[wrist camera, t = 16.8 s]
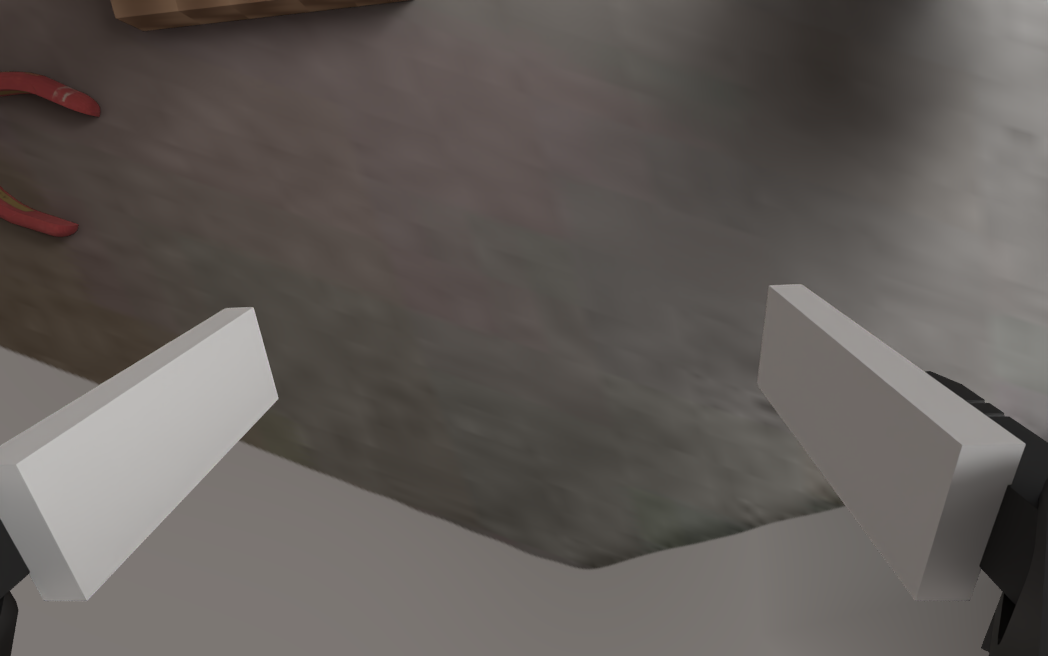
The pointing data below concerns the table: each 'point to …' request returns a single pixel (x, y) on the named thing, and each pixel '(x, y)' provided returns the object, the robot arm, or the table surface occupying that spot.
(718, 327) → the table surface
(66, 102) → the pliers
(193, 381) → the robot arm
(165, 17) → the wooden slotted board
